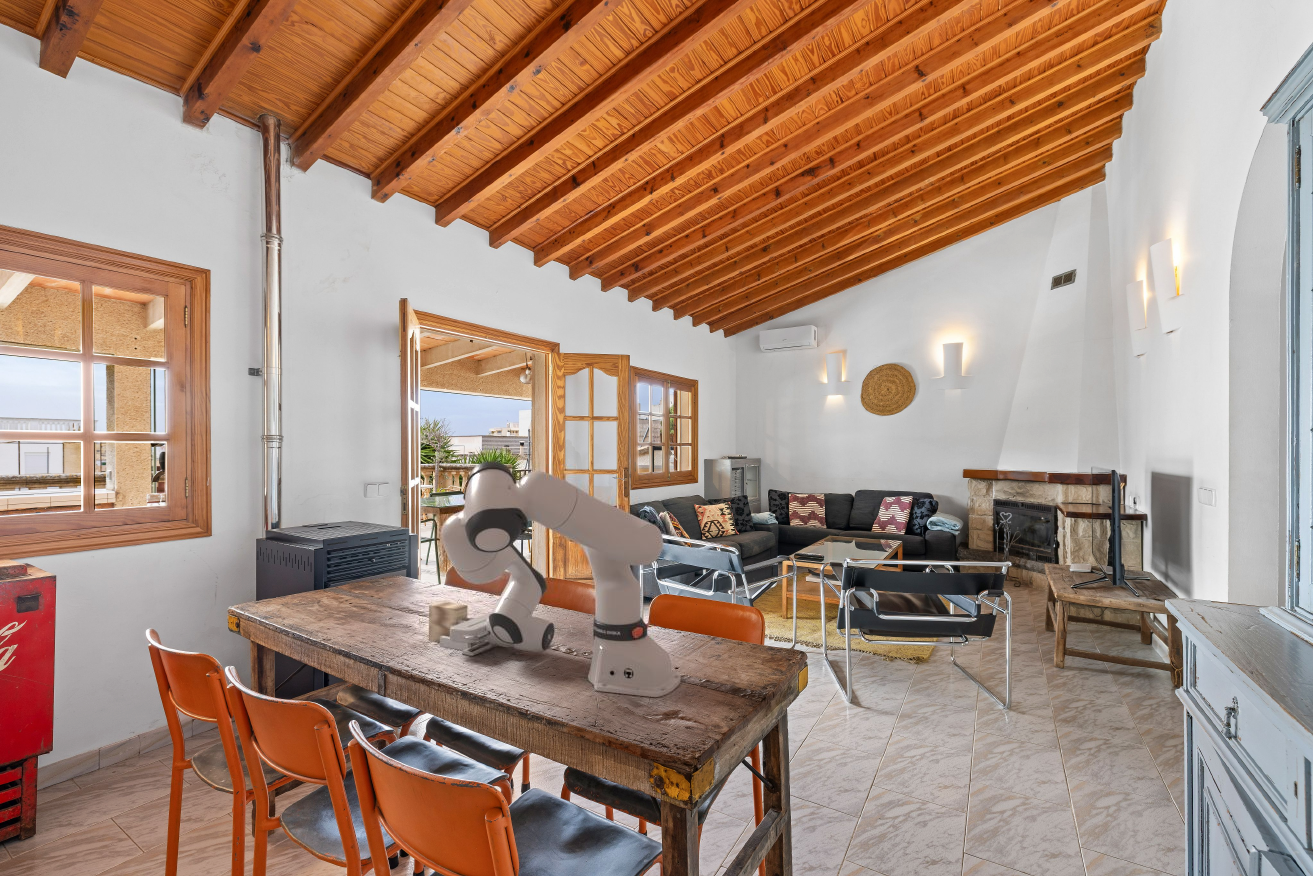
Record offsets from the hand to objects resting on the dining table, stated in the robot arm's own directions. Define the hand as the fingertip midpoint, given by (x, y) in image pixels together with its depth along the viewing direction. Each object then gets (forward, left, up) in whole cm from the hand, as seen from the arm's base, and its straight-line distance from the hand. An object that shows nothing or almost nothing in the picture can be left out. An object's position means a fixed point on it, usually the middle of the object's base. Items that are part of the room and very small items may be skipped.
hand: (461, 621), depth 167 cm
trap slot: (-9, 0, -6) cm, 10 cm away
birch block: (+5, 0, -6) cm, 8 cm away
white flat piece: (-1, 0, -6) cm, 6 cm away
